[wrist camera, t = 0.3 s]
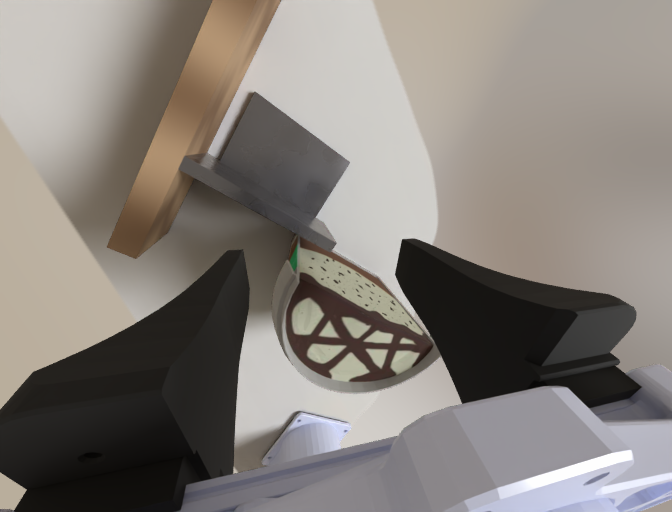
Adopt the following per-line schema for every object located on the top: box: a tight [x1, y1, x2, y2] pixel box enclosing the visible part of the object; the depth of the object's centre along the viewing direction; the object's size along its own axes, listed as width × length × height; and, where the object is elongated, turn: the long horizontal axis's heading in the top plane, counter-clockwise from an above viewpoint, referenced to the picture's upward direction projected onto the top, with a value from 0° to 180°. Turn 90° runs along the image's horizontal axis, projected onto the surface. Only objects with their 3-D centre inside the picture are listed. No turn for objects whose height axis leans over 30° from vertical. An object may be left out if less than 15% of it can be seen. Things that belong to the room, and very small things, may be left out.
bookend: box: [178, 92, 350, 252], centre depth 17 cm, size 6×10×5 cm, turn 56°
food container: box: [272, 234, 441, 394], centre depth 20 cm, size 12×6×10 cm, turn 55°
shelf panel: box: [107, 0, 281, 259], centre depth 15 cm, size 18×2×5 cm, turn 146°
